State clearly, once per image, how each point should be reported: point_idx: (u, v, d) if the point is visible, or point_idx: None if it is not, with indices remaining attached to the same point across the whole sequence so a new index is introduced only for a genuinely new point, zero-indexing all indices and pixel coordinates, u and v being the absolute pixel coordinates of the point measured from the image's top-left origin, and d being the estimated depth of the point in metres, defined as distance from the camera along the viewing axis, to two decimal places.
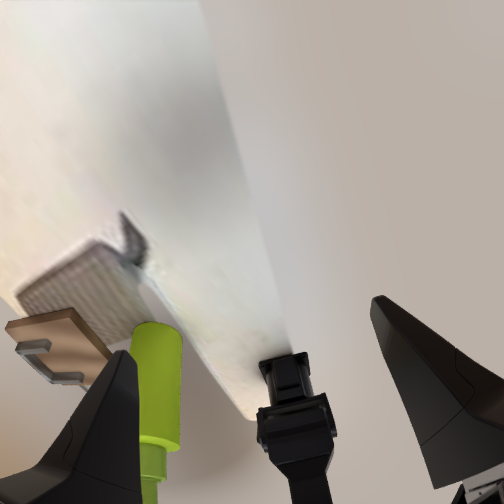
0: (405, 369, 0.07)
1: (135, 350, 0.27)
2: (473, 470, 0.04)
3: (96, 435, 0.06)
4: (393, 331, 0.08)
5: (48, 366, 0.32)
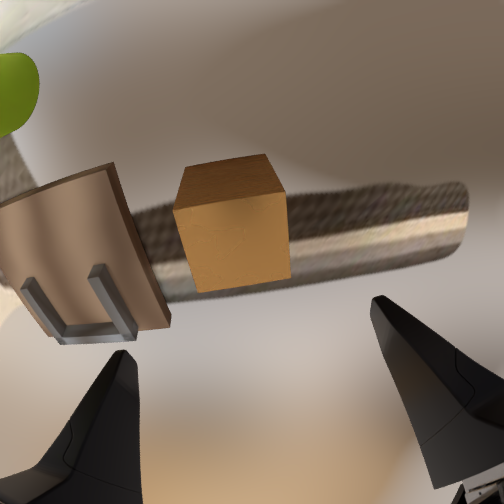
0: (405, 369, 0.07)
1: None
2: (473, 470, 0.04)
3: (96, 435, 0.06)
4: (393, 331, 0.08)
5: (106, 319, 0.22)
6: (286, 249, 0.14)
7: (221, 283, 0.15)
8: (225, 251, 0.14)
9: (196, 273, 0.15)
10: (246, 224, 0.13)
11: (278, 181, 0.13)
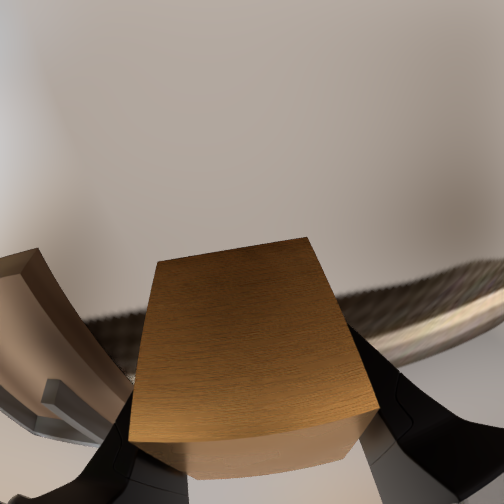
0: None
1: None
2: (412, 503, 0.04)
3: None
4: None
5: None
6: (348, 447, 0.06)
7: (233, 476, 0.07)
8: (241, 465, 0.06)
9: (192, 473, 0.07)
10: (284, 448, 0.05)
11: (358, 360, 0.06)
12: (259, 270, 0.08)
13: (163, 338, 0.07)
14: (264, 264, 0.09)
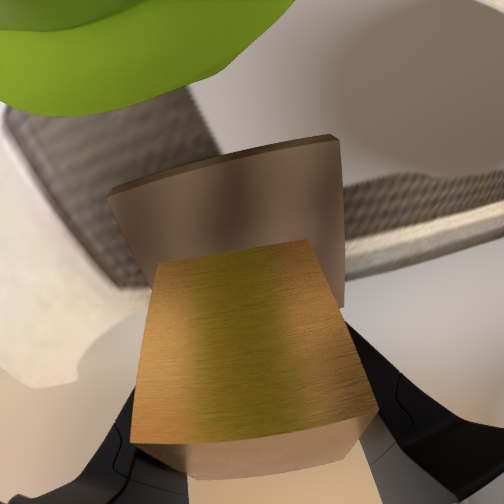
0: None
1: None
2: (412, 503, 0.04)
3: None
4: None
5: None
6: (347, 448, 0.06)
7: (234, 476, 0.07)
8: (242, 465, 0.06)
9: (193, 474, 0.07)
10: (285, 449, 0.05)
11: (358, 362, 0.06)
12: (259, 272, 0.08)
13: (164, 340, 0.07)
14: (264, 266, 0.09)
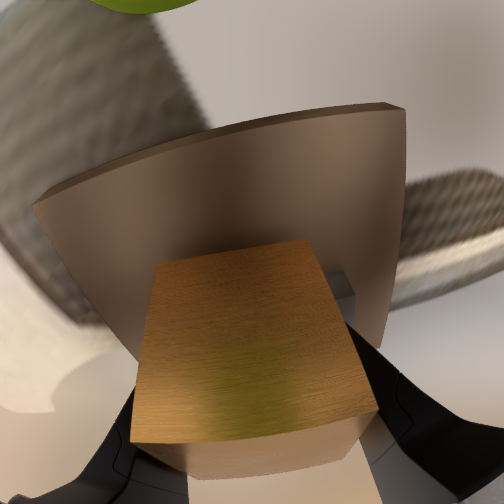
0: None
1: None
2: (412, 503, 0.04)
3: None
4: None
5: None
6: (347, 448, 0.06)
7: (234, 476, 0.07)
8: (242, 464, 0.06)
9: (193, 473, 0.07)
10: (284, 449, 0.05)
11: (357, 361, 0.06)
12: (259, 272, 0.08)
13: (164, 340, 0.07)
14: (264, 266, 0.09)
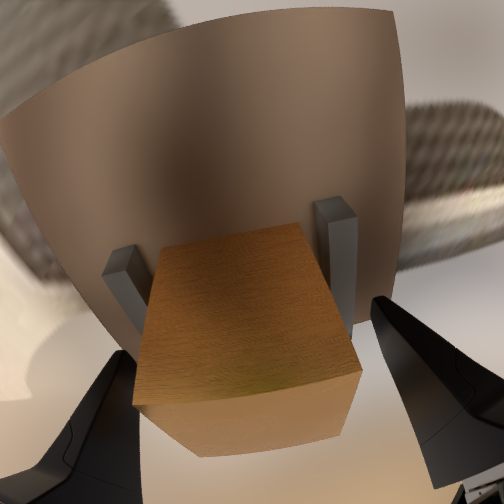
0: (405, 369, 0.07)
1: None
2: (473, 470, 0.04)
3: (96, 435, 0.06)
4: (393, 331, 0.08)
5: None
6: (341, 420, 0.07)
7: (234, 452, 0.08)
8: (239, 435, 0.07)
9: (193, 448, 0.07)
10: (277, 414, 0.06)
11: (342, 327, 0.06)
12: (253, 252, 0.09)
13: (166, 313, 0.08)
14: (258, 247, 0.09)
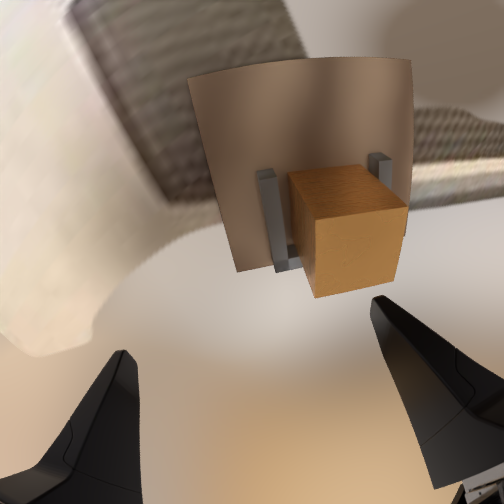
0: (405, 369, 0.07)
1: None
2: (473, 470, 0.04)
3: (96, 435, 0.06)
4: (393, 331, 0.08)
5: None
6: (397, 256, 0.15)
7: (338, 288, 0.15)
8: (350, 258, 0.14)
9: (319, 280, 0.15)
10: (373, 234, 0.13)
11: (395, 195, 0.14)
12: (343, 173, 0.17)
13: (311, 192, 0.15)
14: (344, 172, 0.17)
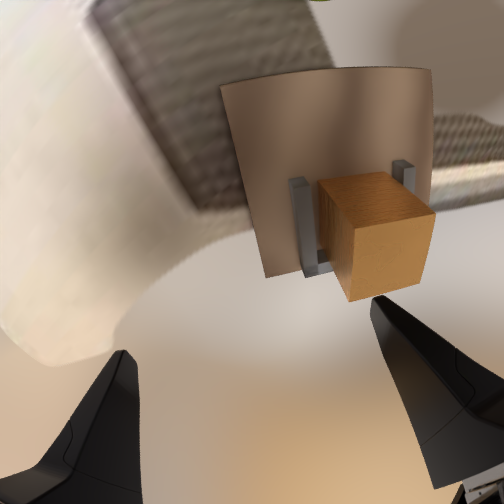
0: (405, 369, 0.07)
1: None
2: (473, 470, 0.04)
3: (96, 435, 0.06)
4: (393, 331, 0.08)
5: None
6: (424, 259, 0.15)
7: (370, 292, 0.16)
8: (384, 263, 0.14)
9: (354, 284, 0.15)
10: (405, 240, 0.14)
11: (423, 203, 0.14)
12: (371, 181, 0.17)
13: (345, 201, 0.15)
14: (372, 179, 0.17)
